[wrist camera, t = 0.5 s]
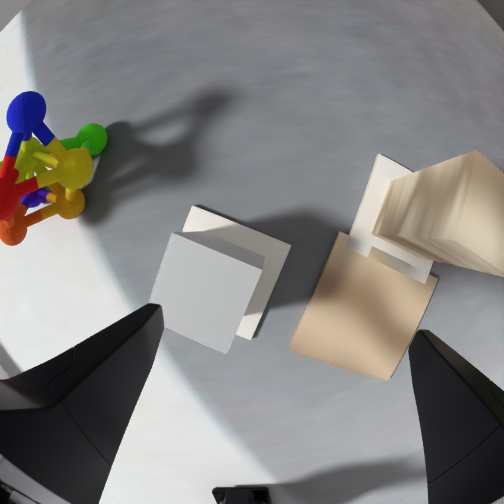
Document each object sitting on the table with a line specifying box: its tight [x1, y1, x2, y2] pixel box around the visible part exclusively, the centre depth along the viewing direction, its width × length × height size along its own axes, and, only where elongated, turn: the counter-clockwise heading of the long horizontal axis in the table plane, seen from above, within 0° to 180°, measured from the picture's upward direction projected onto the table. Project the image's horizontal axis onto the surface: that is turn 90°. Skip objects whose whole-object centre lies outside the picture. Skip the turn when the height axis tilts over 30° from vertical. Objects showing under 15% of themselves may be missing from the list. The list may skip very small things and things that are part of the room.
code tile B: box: [182, 205, 291, 340], centre depth 22 cm, size 8×8×1 cm
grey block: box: [149, 231, 265, 354], centre depth 18 cm, size 5×5×7 cm
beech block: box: [372, 150, 504, 277], centre depth 15 cm, size 4×5×11 cm
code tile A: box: [345, 154, 434, 284], centre depth 21 cm, size 8×8×1 cm
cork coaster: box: [287, 231, 438, 381], centre depth 21 cm, size 10×10×1 cm
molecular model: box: [0, 91, 107, 246], centre depth 17 cm, size 11×7×12 cm, turn 116°
